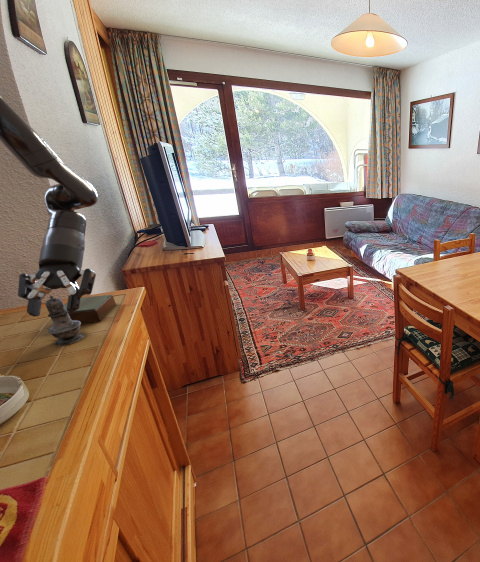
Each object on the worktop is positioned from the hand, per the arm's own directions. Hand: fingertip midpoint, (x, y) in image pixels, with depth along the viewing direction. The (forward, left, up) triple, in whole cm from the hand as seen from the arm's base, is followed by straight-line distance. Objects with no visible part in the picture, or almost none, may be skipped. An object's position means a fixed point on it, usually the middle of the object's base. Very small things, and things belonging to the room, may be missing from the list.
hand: (53, 313), depth 72 cm
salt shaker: (0, +2, -8) cm, 9 cm away
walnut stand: (-2, +15, -8) cm, 17 cm away
